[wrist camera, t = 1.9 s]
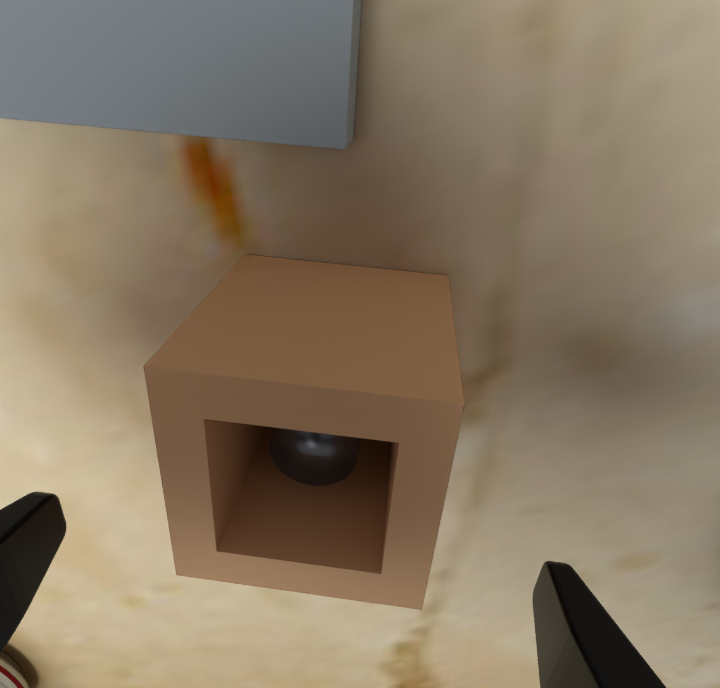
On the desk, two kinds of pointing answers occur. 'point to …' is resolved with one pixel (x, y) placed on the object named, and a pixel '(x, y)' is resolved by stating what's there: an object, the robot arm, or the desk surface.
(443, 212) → the desk surface
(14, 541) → the robot arm
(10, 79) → the board
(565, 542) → the desk surface
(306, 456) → the dark grey cylinder
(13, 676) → the soda can
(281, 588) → the brown square box
